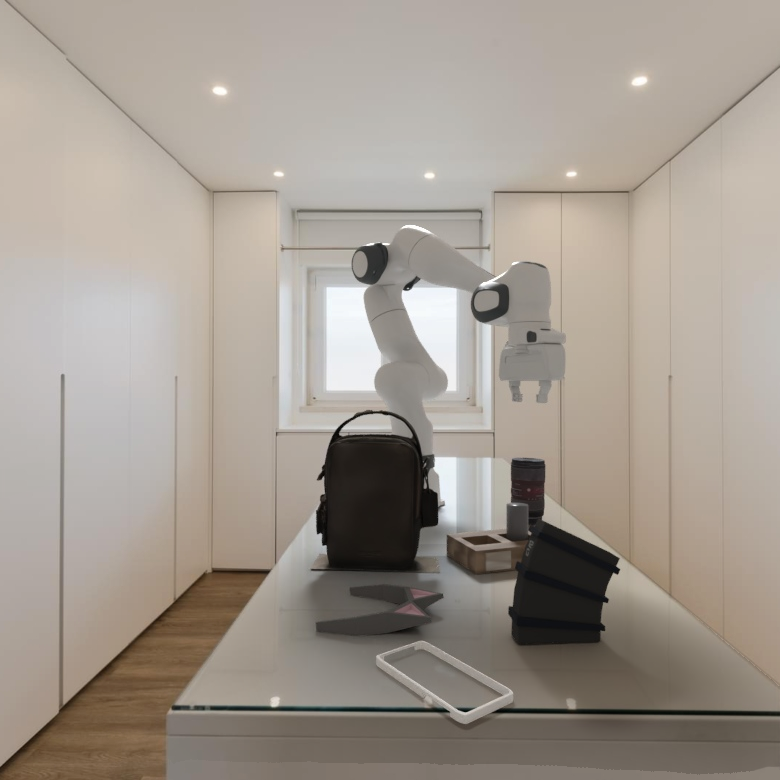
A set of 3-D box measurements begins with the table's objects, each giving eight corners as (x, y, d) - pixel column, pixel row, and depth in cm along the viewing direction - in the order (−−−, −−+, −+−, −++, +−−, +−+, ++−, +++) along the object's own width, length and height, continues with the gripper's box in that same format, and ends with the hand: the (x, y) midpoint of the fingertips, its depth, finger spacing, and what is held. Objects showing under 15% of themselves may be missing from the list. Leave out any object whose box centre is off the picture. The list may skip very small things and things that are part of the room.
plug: (502, 556, 108) (502, 503, 108) (520, 554, 109) (520, 502, 109) (513, 562, 104) (513, 507, 104) (532, 560, 106) (532, 506, 106)
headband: (349, 583, 88) (445, 581, 84) (351, 603, 88) (447, 602, 84) (314, 617, 75) (426, 618, 71) (316, 641, 74) (428, 643, 70)
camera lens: (546, 526, 132) (546, 461, 132) (510, 524, 133) (510, 460, 133) (544, 518, 140) (544, 457, 140) (510, 516, 141) (510, 456, 141)
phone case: (516, 705, 58) (422, 650, 70) (516, 691, 58) (422, 639, 70) (463, 730, 54) (373, 667, 66) (463, 716, 54) (373, 655, 66)
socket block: (446, 555, 109) (446, 534, 109) (519, 547, 114) (519, 527, 114) (476, 575, 97) (477, 551, 97) (556, 565, 102) (556, 543, 102)
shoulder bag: (438, 557, 107) (438, 409, 107) (439, 573, 98) (440, 411, 98) (319, 555, 109) (319, 408, 109) (310, 570, 100) (310, 410, 99)
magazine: (485, 622, 73) (534, 516, 74) (574, 662, 74) (622, 557, 75) (493, 634, 70) (544, 523, 70) (586, 676, 71) (636, 566, 71)
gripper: (492, 340, 130) (491, 401, 130) (544, 332, 111) (543, 403, 111) (516, 341, 132) (515, 401, 132) (571, 334, 113) (570, 403, 113)
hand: (529, 402), depth 121 cm, fingers open, 8 cm apart
